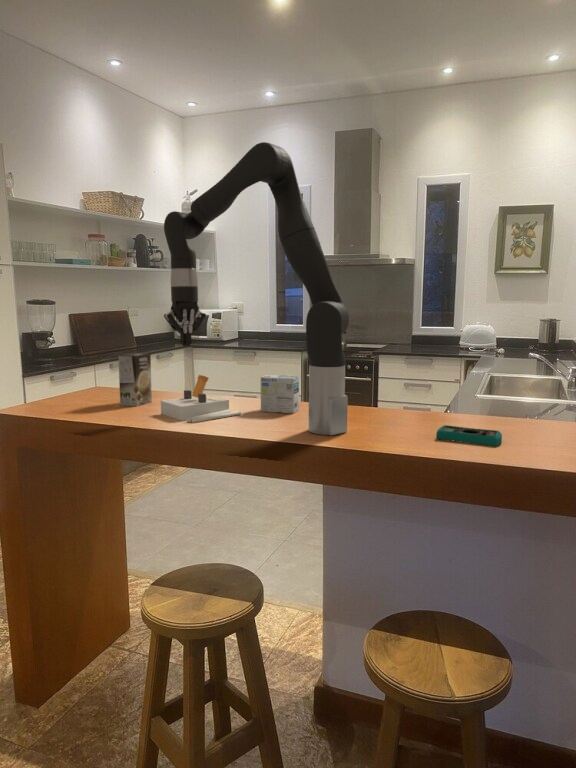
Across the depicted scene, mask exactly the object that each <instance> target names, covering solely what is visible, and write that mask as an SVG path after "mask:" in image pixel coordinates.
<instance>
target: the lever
mask: <svg viewBox="0 0 576 768" xmlns="http://www.w3.org/2000/svg"><path fill="white" fill-rule="evenodd" d="M208 381H209V377H207V376H206V375H201V374H198V376H197V381H196V384H195V385H194V389H193V392H192V393H191V395H192V397H193V396H194V397H196V398H198V394H202V393H203V392H204V390H205V388H206V385H207V382H208ZM203 394H204V393H203Z"/></svg>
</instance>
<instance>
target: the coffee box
mask: <svg viewBox="0 0 576 768" xmlns="http://www.w3.org/2000/svg"><path fill="white" fill-rule="evenodd" d="M151 361H152V360H151V353H144V352H143V353H142V352H139V353H137V352H133V353H126V354H119V355H118V378H119V379H118V380H119V381H118V382H119V383H118V384H119V405H120V406H123V407H124V406H128V407H139V406H142V405H146V404H148V403H152V402H153V396H152V366H151V365H152V362H151Z"/></svg>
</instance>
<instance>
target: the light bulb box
mask: <svg viewBox="0 0 576 768" xmlns="http://www.w3.org/2000/svg"><path fill="white" fill-rule="evenodd" d="M299 410H300V376H299V375H287V374H286V375H285V374H265V375H262V376H260V412H261V411H268V412H267V413H276V412H282V413H281V414H295V413H296V412H297V411H299Z"/></svg>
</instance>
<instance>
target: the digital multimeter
mask: <svg viewBox="0 0 576 768" xmlns="http://www.w3.org/2000/svg"><path fill="white" fill-rule="evenodd" d="M502 438H503V433H502V432H501V431H500V430H494V429H493V430H492V429H482V428H473V427H463V426H453V425H449V424H448V425H446V424H444V425H442V426H440V427H439V428H438V429H437V430H436V440H437V439H442V440H441V441H445V440H454V441H453V442H455V441H462V442H461V443H464V442H470V443H469V444H473V443H476V444H475V445H481V444H484V445H483V446H489V445H491V446H492V447H498V446H499V445H501V444H502V441H503V439H502Z"/></svg>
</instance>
